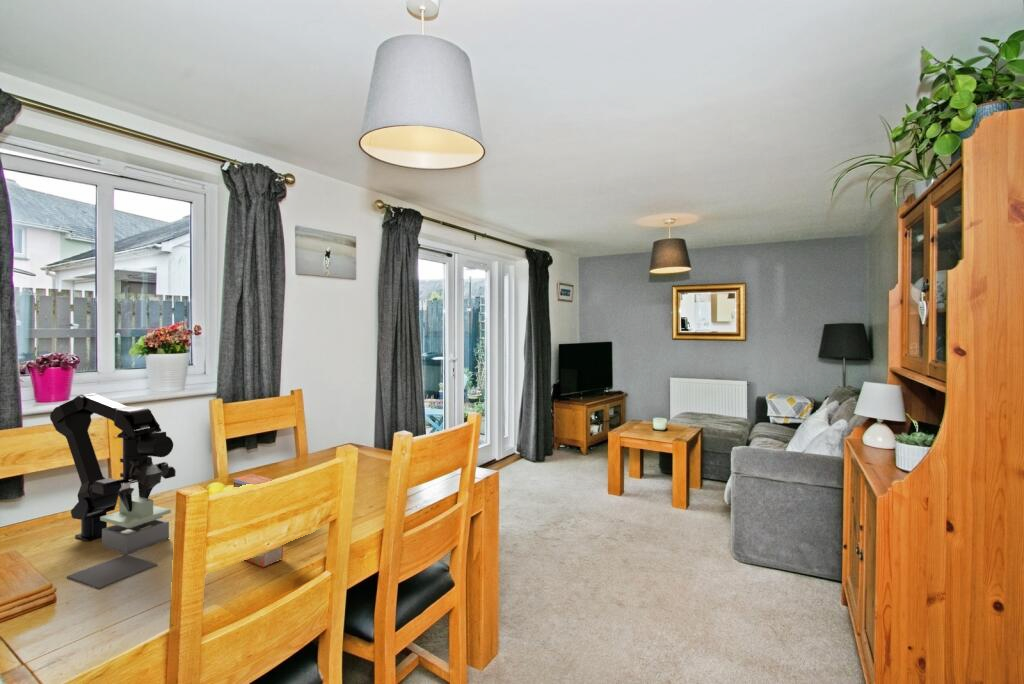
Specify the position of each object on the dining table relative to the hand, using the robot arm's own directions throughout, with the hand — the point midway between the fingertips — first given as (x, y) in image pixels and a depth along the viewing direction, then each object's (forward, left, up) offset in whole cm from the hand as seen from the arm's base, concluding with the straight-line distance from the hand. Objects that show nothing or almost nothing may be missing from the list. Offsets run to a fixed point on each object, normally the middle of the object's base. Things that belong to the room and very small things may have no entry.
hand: (136, 509), depth 141 cm
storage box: (0, 0, -10) cm, 10 cm away
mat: (+12, -13, -10) cm, 20 cm away
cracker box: (+38, +8, -10) cm, 40 cm away
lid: (0, 0, -3) cm, 3 cm away
